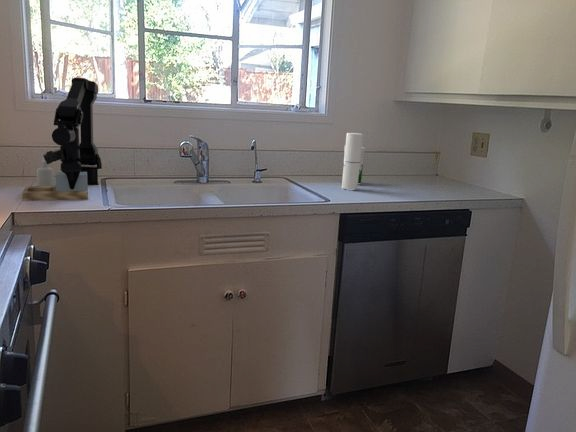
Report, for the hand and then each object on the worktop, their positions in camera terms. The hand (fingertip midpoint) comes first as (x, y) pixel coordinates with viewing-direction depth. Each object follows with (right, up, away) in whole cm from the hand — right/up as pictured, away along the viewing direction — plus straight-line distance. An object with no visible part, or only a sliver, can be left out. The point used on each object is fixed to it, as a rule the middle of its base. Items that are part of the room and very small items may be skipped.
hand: (72, 187), depth 172 cm
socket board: (-5, -3, -1) cm, 6 cm away
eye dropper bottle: (-13, -1, +8) cm, 15 cm away
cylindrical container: (+104, +2, +50) cm, 115 cm away
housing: (0, -1, 0) cm, 1 cm away
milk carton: (+107, +6, +66) cm, 126 cm away
